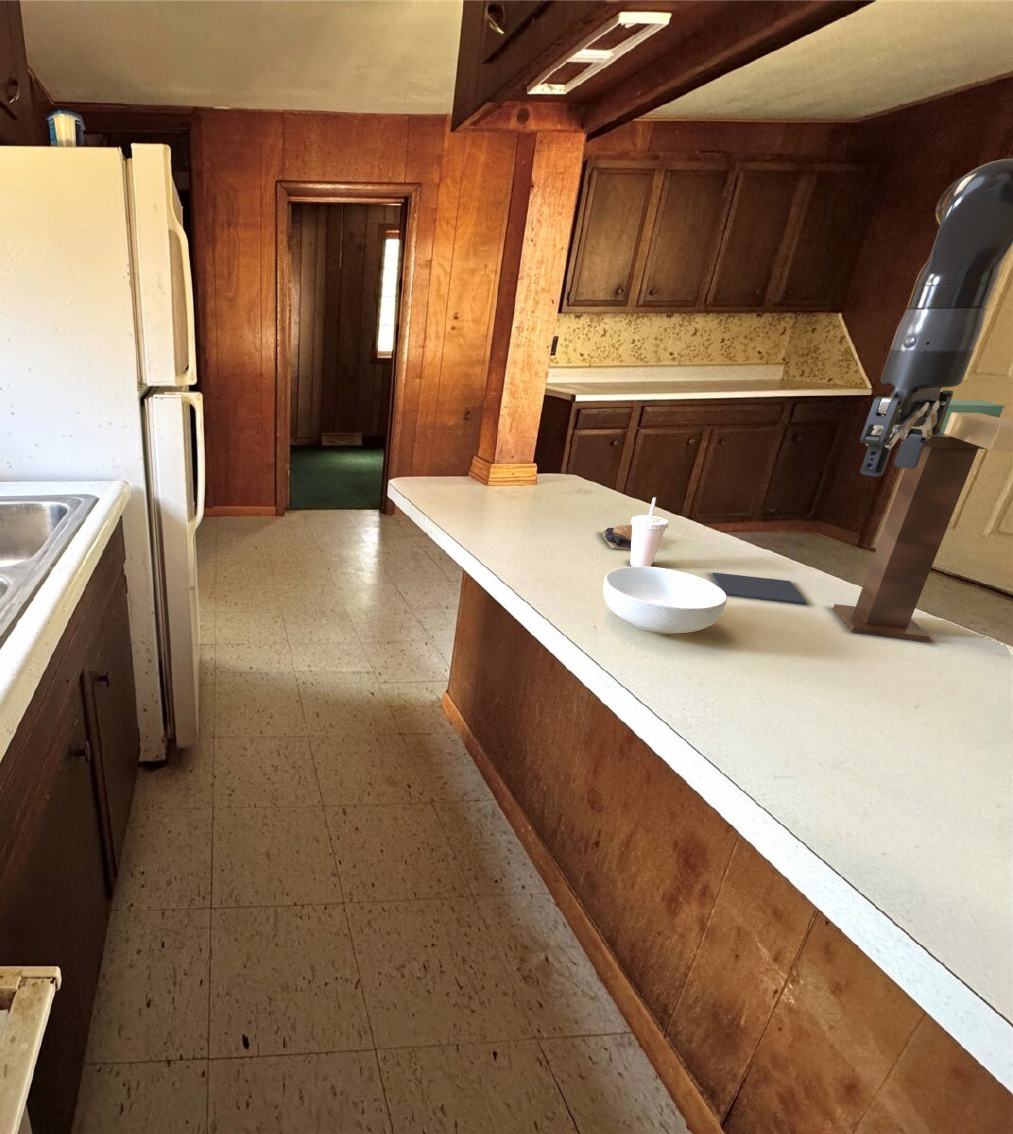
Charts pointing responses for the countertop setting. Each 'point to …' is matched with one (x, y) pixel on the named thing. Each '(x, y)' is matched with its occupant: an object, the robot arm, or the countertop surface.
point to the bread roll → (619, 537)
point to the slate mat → (758, 588)
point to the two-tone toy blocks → (978, 424)
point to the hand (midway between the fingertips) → (888, 471)
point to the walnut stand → (911, 541)
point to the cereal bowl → (663, 599)
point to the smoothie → (646, 537)
